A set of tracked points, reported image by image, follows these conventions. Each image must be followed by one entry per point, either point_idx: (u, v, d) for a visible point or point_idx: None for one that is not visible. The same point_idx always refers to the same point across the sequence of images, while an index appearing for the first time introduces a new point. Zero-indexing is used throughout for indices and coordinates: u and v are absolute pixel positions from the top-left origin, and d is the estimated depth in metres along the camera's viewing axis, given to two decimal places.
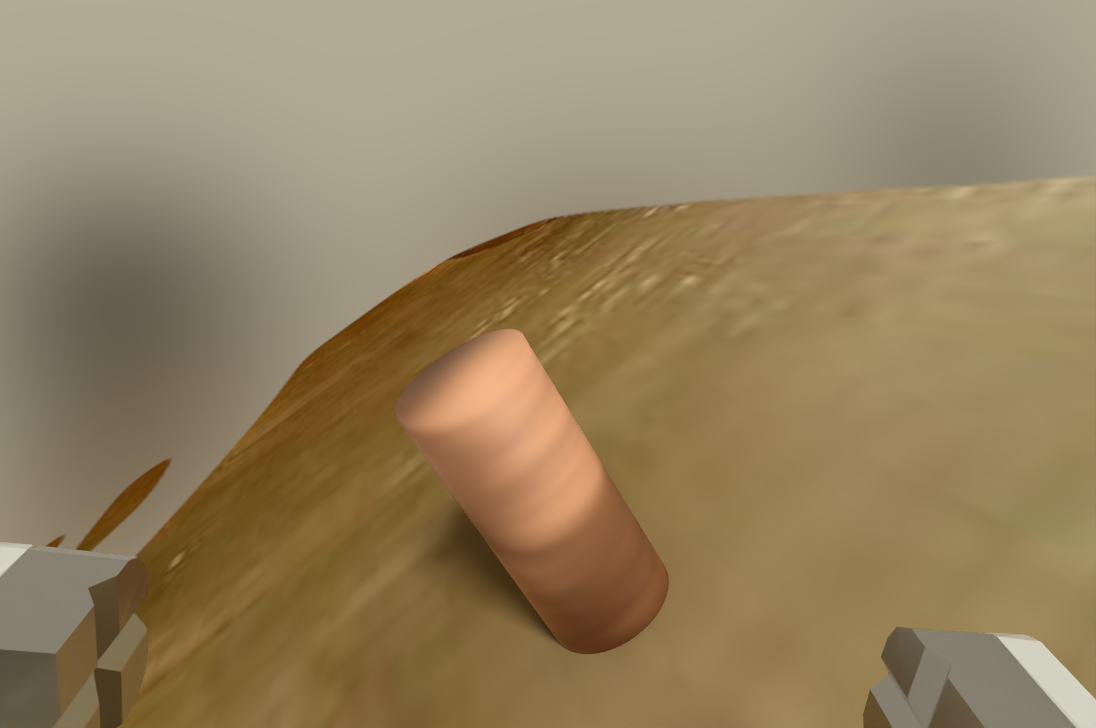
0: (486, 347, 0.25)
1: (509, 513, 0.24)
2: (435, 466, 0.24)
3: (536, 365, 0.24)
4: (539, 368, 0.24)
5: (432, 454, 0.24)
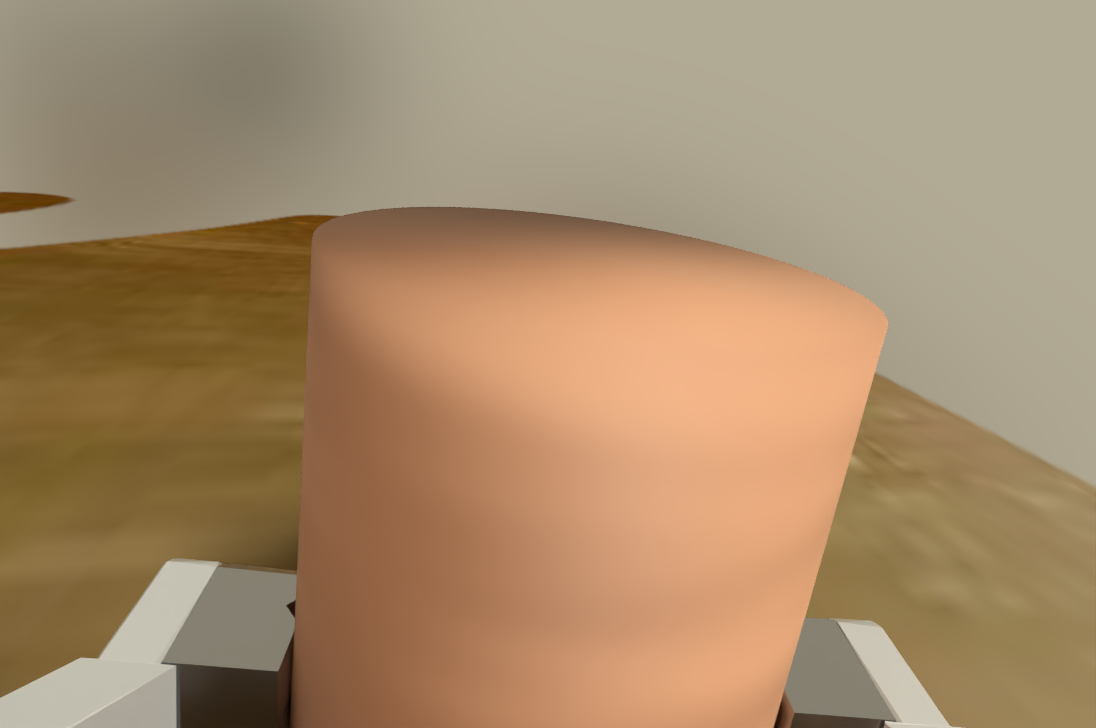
0: (715, 263, 0.07)
1: None
2: (309, 480, 0.06)
3: None
4: None
5: (331, 437, 0.06)
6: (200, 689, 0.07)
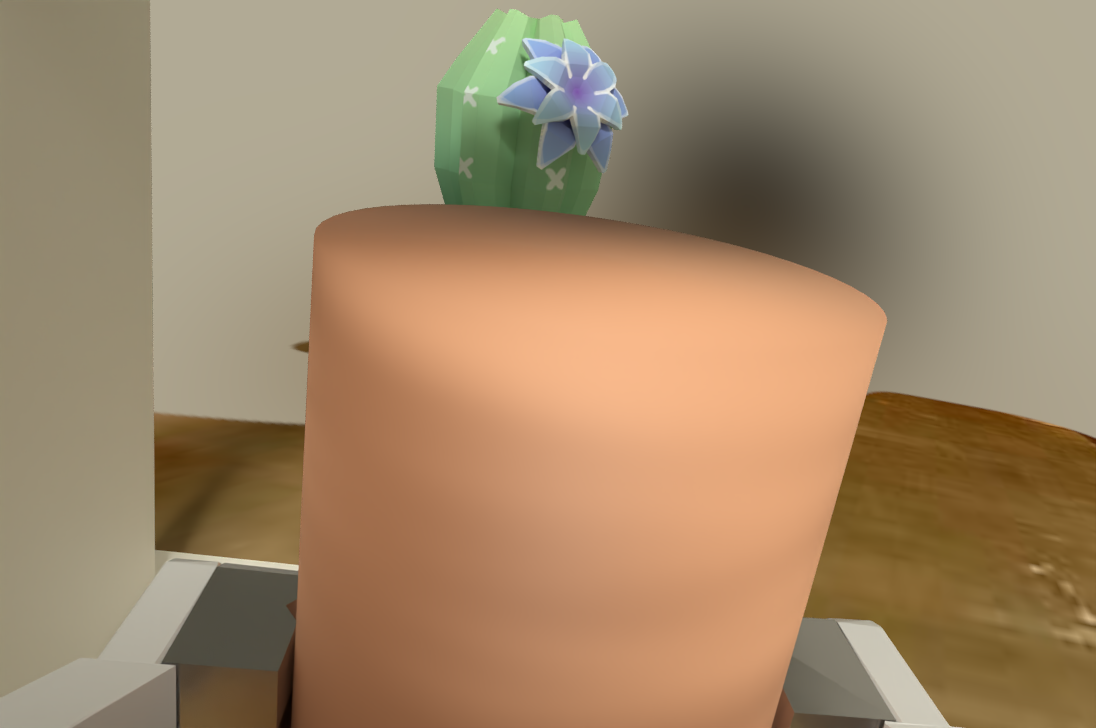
0: (714, 259, 0.07)
1: None
2: (311, 475, 0.06)
3: None
4: None
5: (332, 431, 0.06)
6: (200, 689, 0.07)
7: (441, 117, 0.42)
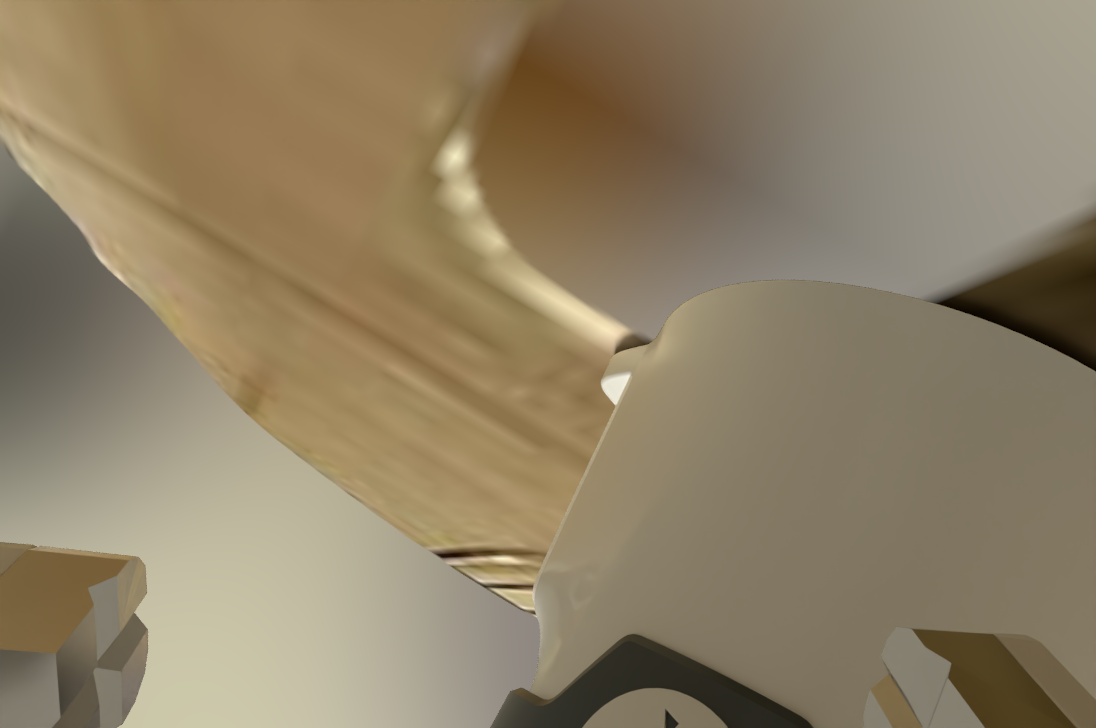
0: None
1: None
2: None
3: None
4: None
5: None
6: None
7: None
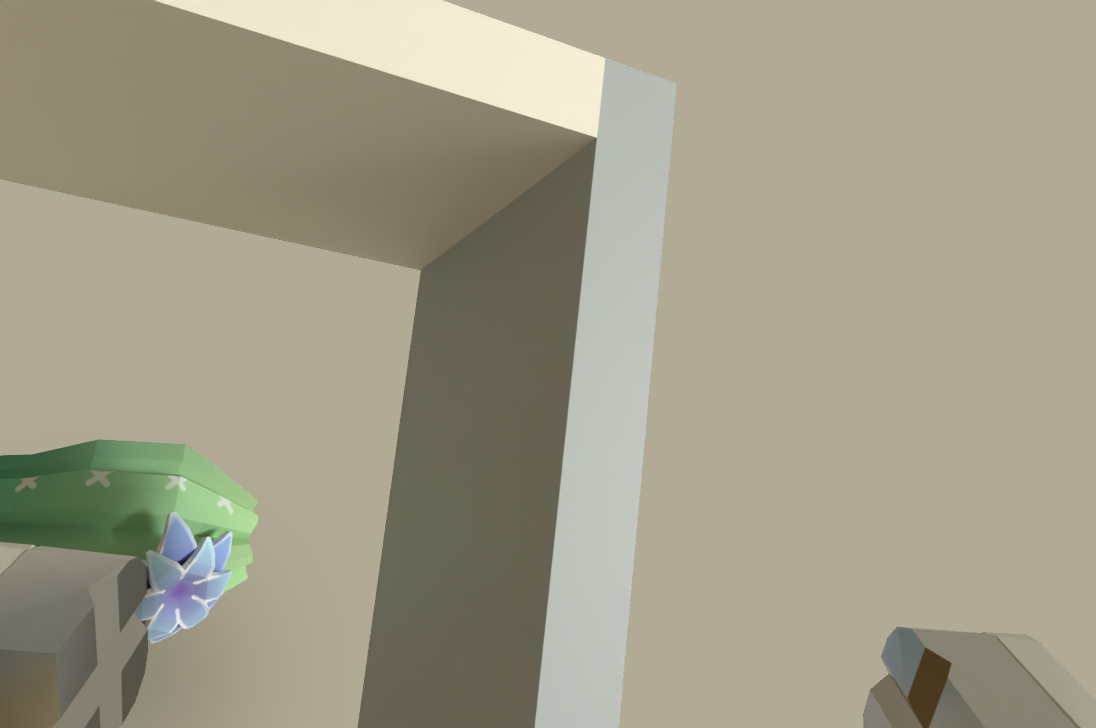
0: None
1: None
2: None
3: None
4: None
5: None
6: None
7: (152, 448, 0.42)
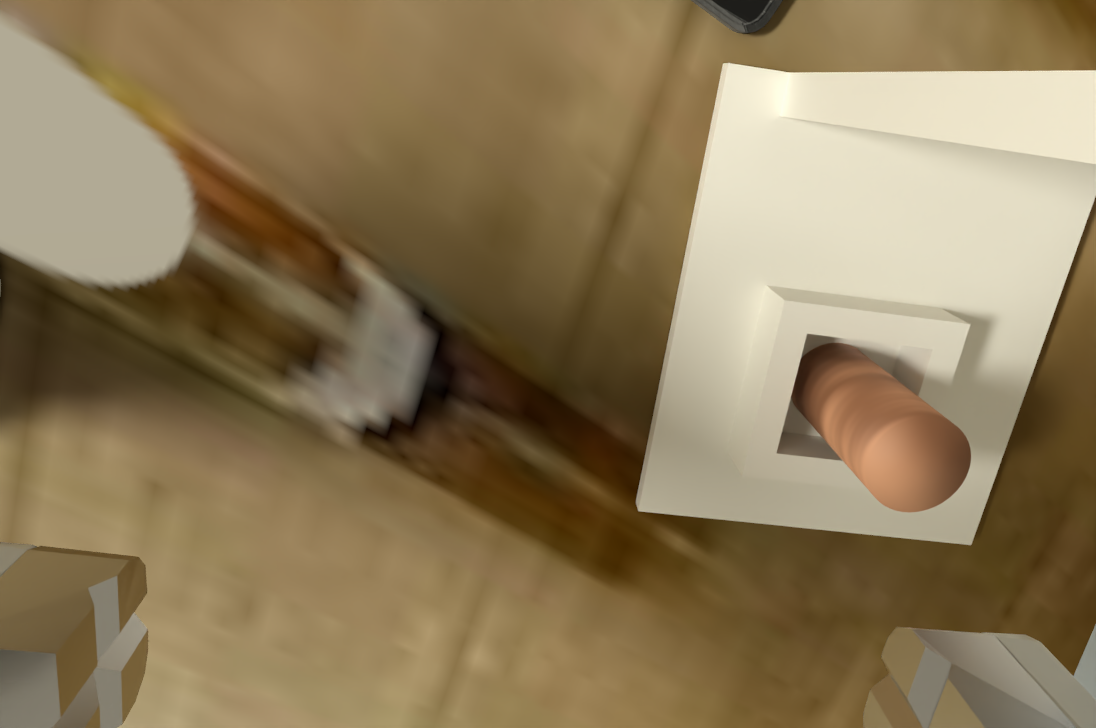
0: (925, 490, 0.35)
1: (843, 406, 0.38)
2: (892, 403, 0.36)
3: None
4: None
5: (889, 411, 0.35)
6: None
7: None
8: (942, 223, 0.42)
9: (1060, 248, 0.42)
